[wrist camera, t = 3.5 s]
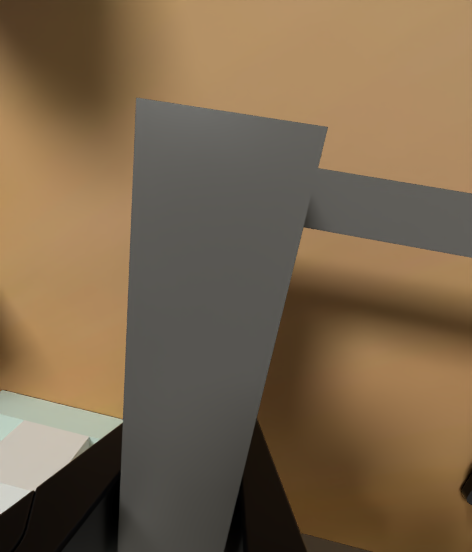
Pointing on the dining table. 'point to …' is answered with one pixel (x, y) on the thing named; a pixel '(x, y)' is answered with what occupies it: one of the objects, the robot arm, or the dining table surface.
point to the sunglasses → (229, 299)
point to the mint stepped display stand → (41, 441)
